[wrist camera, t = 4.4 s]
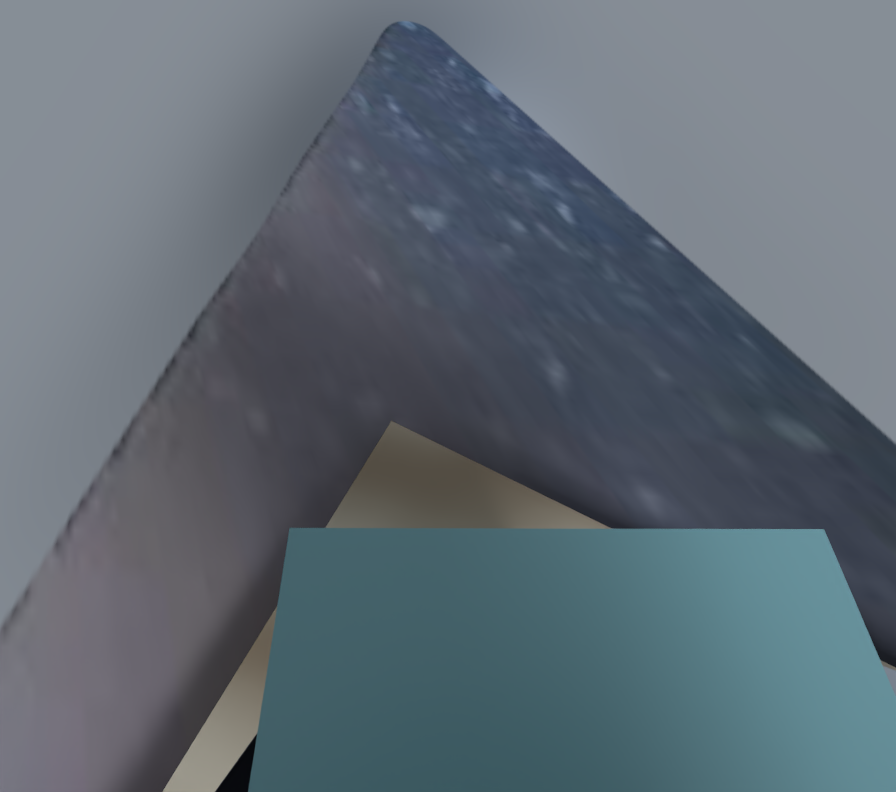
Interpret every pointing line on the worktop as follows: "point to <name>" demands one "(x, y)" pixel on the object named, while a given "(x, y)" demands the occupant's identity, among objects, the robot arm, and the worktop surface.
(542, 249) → the worktop surface
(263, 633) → the board
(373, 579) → the tall teal block
